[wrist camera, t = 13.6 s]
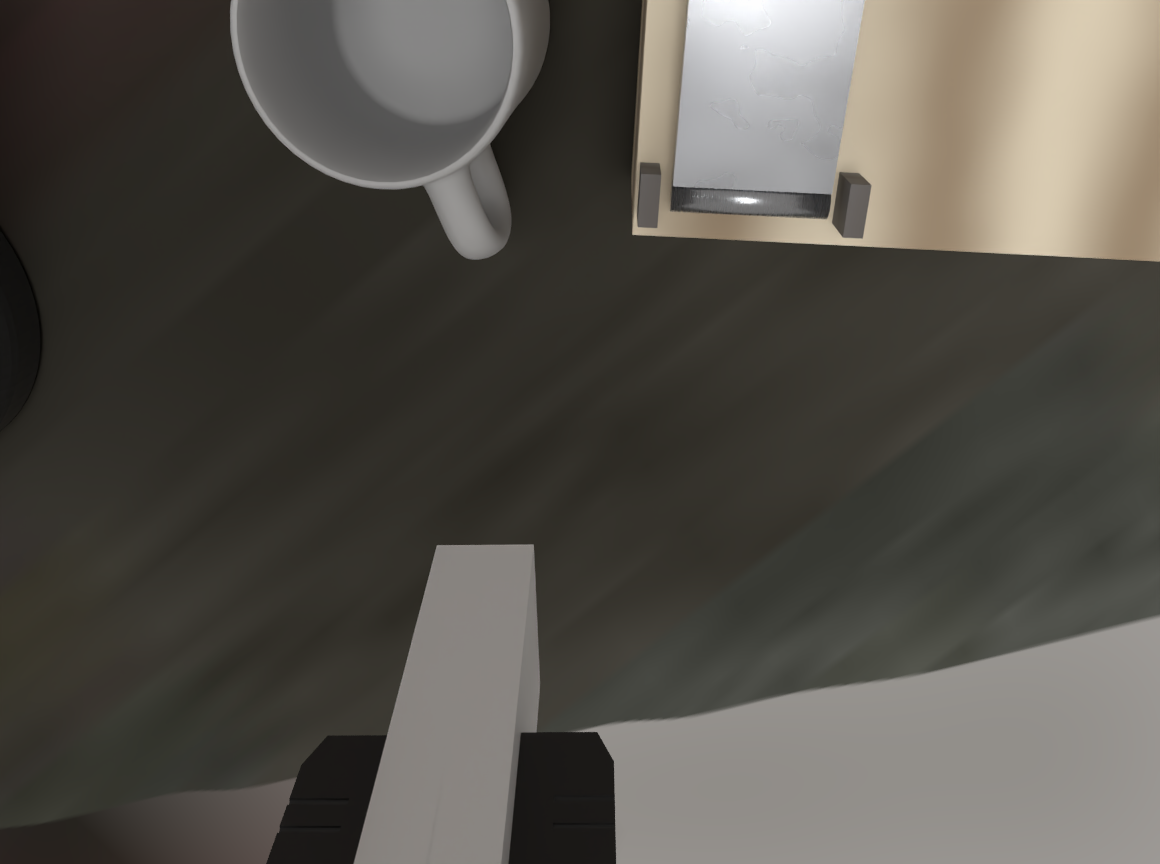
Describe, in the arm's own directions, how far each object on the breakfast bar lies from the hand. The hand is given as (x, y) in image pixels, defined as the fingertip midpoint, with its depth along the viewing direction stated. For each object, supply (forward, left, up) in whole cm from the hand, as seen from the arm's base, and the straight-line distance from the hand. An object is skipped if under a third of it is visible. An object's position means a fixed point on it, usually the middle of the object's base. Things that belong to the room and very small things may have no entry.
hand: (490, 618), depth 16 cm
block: (+11, +8, -28) cm, 31 cm away
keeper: (+6, +8, -19) cm, 21 cm away
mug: (-5, +5, -28) cm, 29 cm away
